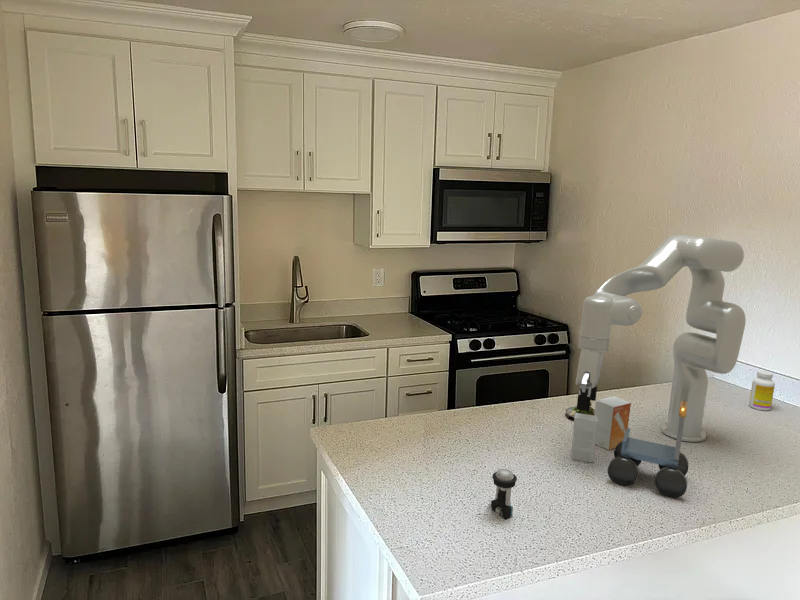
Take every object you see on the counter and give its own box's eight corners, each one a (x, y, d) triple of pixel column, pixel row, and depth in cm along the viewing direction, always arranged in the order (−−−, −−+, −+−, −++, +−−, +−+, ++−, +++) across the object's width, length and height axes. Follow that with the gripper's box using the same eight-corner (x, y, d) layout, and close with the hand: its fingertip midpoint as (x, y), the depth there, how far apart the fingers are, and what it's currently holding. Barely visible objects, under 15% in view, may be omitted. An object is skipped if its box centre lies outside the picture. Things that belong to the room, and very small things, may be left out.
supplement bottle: (774, 411, 205) (780, 376, 203) (755, 410, 205) (761, 375, 203) (763, 404, 212) (769, 370, 209) (744, 403, 212) (750, 369, 209)
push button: (480, 509, 135) (483, 468, 133) (496, 502, 138) (499, 462, 136) (502, 523, 130) (505, 480, 128) (518, 515, 133) (522, 474, 131)
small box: (608, 450, 169) (613, 407, 166) (590, 442, 174) (595, 400, 171) (626, 444, 173) (631, 402, 171) (608, 436, 178) (613, 395, 176)
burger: (562, 421, 190) (564, 399, 188) (567, 408, 200) (569, 387, 199) (602, 428, 185) (604, 405, 184) (604, 415, 196) (607, 394, 194)
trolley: (613, 461, 162) (622, 386, 158) (686, 478, 154) (697, 399, 150) (606, 482, 150) (615, 401, 146) (684, 501, 142) (696, 417, 138)
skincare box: (593, 456, 164) (598, 415, 162) (593, 463, 160) (598, 421, 158) (571, 452, 166) (575, 412, 164) (570, 459, 162) (574, 417, 160)
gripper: (585, 334, 166) (578, 393, 169) (572, 347, 151) (565, 411, 154) (613, 339, 163) (605, 398, 166) (603, 352, 148) (595, 417, 151)
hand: (586, 404), depth 160 cm, fingers open, 9 cm apart
